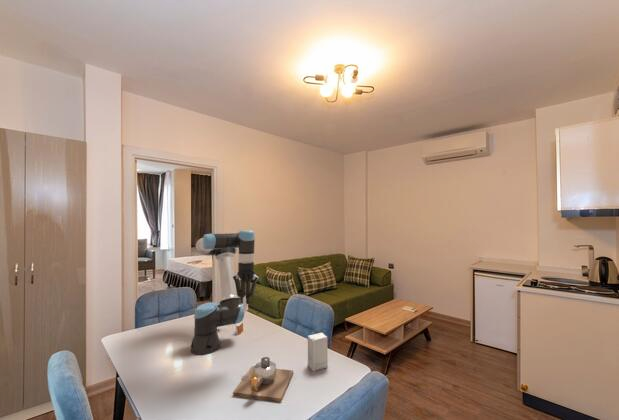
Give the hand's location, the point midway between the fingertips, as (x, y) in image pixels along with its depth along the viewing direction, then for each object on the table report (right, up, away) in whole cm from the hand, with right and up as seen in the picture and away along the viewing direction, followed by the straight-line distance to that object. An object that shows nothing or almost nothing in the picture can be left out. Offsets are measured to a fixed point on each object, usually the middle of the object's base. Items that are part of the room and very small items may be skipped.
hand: (245, 310), depth 134 cm
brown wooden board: (+12, -26, -16) cm, 33 cm away
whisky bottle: (-26, -28, +41) cm, 56 cm away
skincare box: (+35, -27, -2) cm, 44 cm away
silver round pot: (+11, -22, -19) cm, 31 cm away
